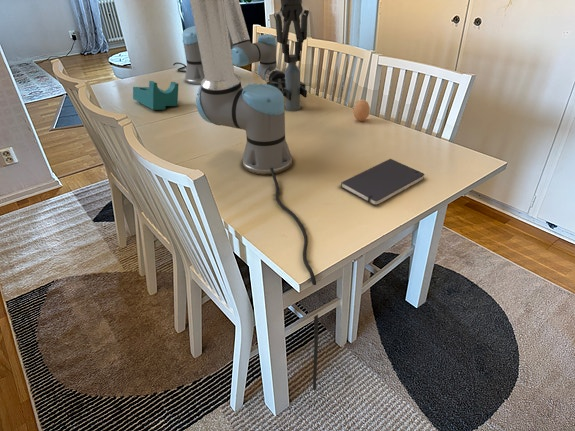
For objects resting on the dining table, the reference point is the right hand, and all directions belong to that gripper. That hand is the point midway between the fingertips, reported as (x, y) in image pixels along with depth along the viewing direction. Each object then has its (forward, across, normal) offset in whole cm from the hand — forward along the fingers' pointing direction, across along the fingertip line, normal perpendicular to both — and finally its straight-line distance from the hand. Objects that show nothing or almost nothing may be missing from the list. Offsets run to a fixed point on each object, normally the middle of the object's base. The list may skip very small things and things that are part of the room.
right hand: (292, 61), depth 153 cm
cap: (-2, 0, 0) cm, 2 cm away
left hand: (+12, -1, -5) cm, 13 cm away
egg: (+18, +15, -25) cm, 34 cm away
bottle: (+18, 0, 0) cm, 18 cm away
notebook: (+18, -8, -64) cm, 67 cm away
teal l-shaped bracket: (+18, -46, +36) cm, 61 cm away
